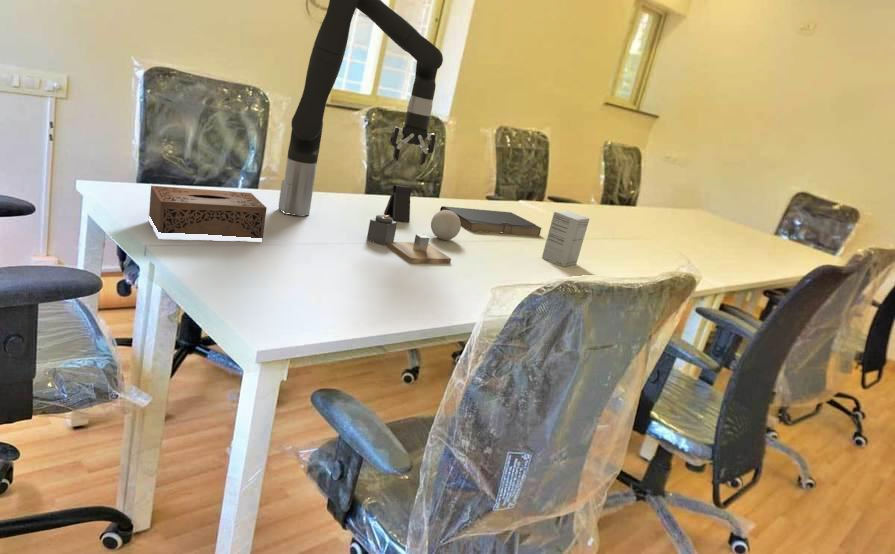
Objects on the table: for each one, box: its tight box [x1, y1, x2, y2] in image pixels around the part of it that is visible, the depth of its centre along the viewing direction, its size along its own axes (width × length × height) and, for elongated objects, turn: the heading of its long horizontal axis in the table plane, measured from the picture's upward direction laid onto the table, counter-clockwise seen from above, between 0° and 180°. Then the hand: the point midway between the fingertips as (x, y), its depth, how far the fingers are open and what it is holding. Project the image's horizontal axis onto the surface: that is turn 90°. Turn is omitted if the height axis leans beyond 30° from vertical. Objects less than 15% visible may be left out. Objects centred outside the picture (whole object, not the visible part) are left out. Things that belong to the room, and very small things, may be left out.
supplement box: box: [541, 210, 590, 268], centre depth 215 cm, size 10×9×17 cm
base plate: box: [387, 241, 452, 264], centre depth 189 cm, size 14×14×2 cm
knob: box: [366, 214, 398, 246], centre depth 193 cm, size 6×6×8 cm
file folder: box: [439, 205, 542, 236], centre depth 249 cm, size 33×4×24 cm
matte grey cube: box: [413, 233, 430, 252], centre depth 188 cm, size 3×3×4 cm
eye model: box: [430, 210, 462, 241], centre depth 211 cm, size 10×10×10 cm
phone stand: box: [383, 184, 412, 223], centre depth 224 cm, size 9×6×12 cm, turn 31°
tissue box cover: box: [148, 185, 268, 239], centre depth 166 cm, size 26×14×10 cm, turn 123°
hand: (408, 162), depth 204 cm, fingers open, 8 cm apart
